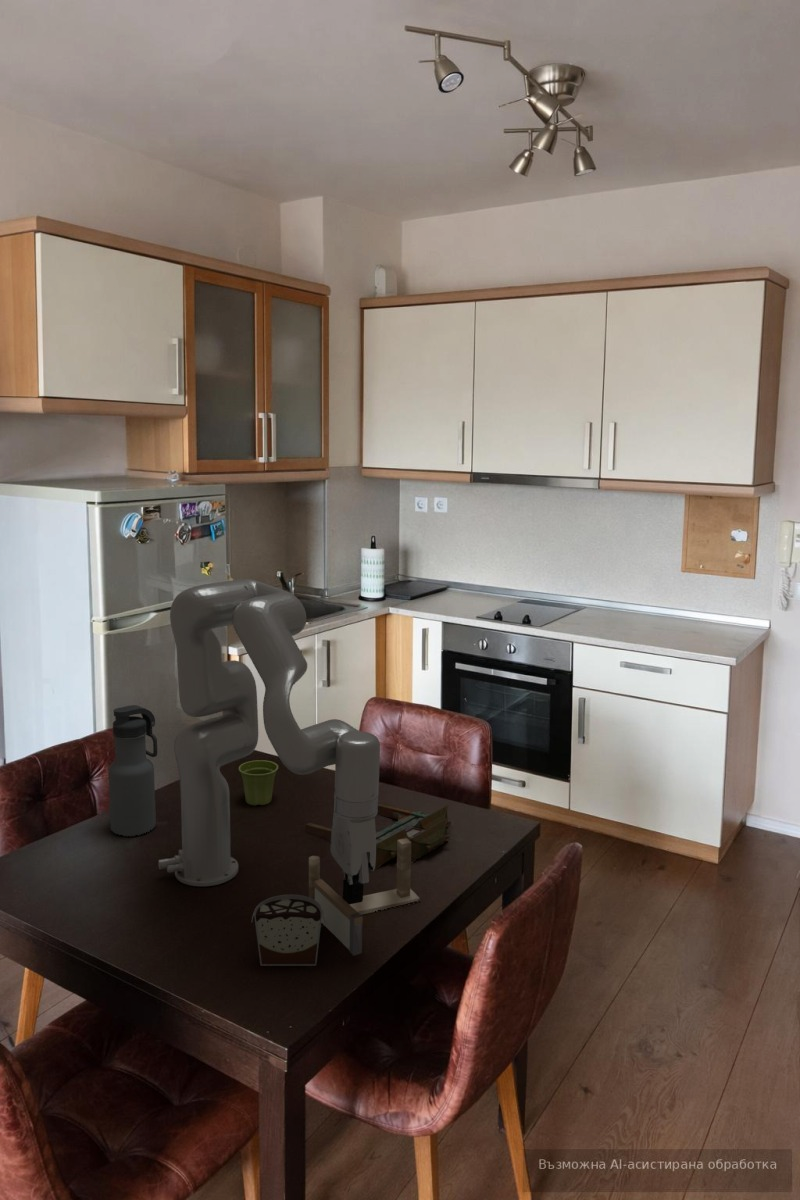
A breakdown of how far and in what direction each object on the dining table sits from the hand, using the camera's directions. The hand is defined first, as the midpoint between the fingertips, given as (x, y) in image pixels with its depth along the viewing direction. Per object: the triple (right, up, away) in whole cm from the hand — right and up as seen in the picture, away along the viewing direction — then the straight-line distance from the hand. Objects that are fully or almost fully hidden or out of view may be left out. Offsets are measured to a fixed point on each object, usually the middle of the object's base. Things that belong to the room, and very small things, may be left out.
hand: (352, 900), depth 162 cm
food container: (-11, -8, -4) cm, 14 cm away
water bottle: (-51, +2, +45) cm, 68 cm away
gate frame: (0, -5, +12) cm, 13 cm away
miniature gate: (+5, 0, +43) cm, 44 cm away
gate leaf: (-3, -6, +1) cm, 7 cm away
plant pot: (-26, +4, +61) cm, 66 cm away
